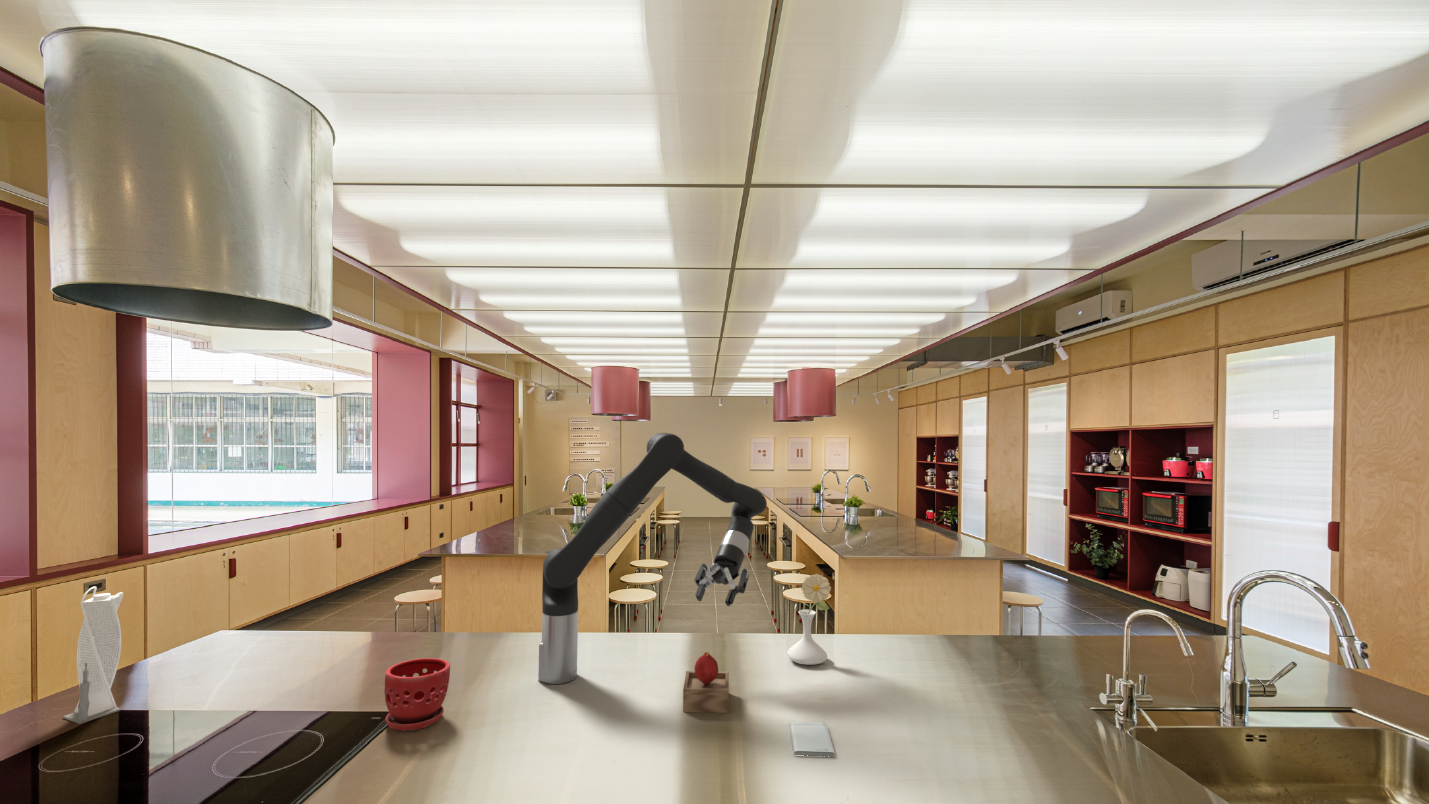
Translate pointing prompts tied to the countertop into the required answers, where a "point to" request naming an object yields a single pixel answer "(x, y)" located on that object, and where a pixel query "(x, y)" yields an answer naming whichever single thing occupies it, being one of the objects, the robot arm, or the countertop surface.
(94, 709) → the skyscraper
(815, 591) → the flower in vase
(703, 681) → the onion
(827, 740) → the hard drive
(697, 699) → the wooden tray
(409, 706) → the plant pot
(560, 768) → the countertop surface
